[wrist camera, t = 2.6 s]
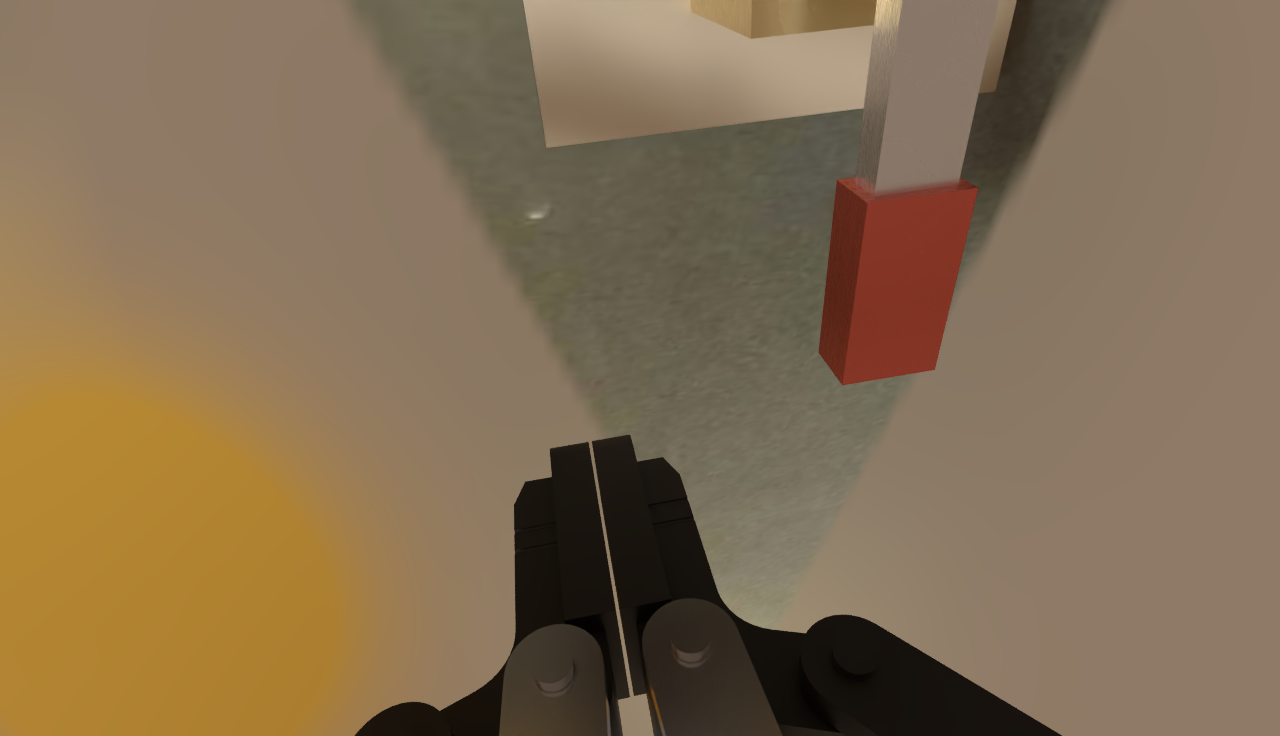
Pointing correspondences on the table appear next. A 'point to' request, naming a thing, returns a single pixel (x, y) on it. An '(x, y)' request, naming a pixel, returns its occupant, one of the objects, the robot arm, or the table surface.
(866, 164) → the lever
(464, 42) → the table surface
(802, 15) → the valve
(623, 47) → the mounting board
